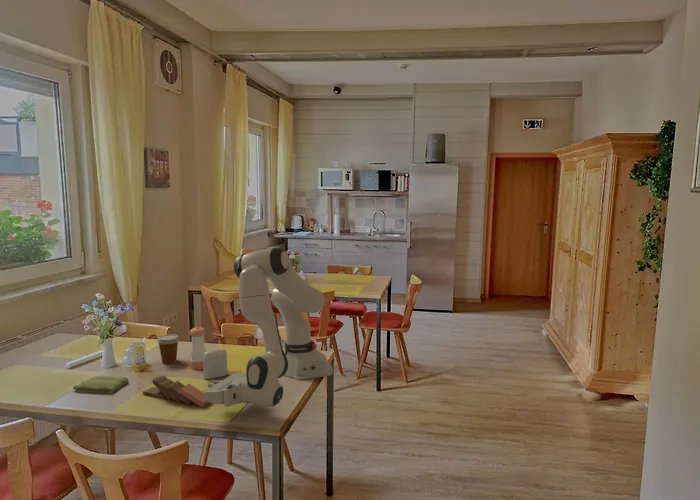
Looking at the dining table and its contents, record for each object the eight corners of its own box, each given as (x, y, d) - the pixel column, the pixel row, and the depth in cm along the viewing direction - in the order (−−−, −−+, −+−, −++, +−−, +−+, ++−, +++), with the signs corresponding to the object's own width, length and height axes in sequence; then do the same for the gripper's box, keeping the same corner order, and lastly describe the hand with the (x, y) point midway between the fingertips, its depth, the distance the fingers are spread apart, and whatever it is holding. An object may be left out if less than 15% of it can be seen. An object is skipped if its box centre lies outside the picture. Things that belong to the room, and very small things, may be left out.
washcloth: (92, 380, 212) (91, 373, 211) (130, 382, 209) (130, 375, 209) (71, 393, 199) (70, 385, 198) (111, 395, 197) (111, 388, 196)
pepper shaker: (187, 368, 225) (185, 327, 222) (197, 363, 232) (196, 323, 229) (200, 370, 222) (198, 329, 220) (210, 365, 229) (209, 325, 226)
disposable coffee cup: (167, 366, 227) (166, 341, 225) (154, 362, 232) (152, 338, 230) (184, 360, 235) (183, 336, 233) (171, 356, 240) (169, 332, 238)
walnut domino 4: (198, 395, 191) (177, 380, 194) (189, 400, 186) (168, 385, 190) (197, 399, 192) (176, 384, 195) (188, 405, 187) (167, 389, 190)
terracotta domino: (211, 397, 189) (189, 383, 192) (203, 403, 185) (180, 388, 187) (210, 402, 190) (187, 387, 193) (202, 407, 185) (179, 392, 188)
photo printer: (225, 372, 220) (224, 345, 218) (228, 375, 216) (228, 348, 215) (202, 377, 214) (201, 350, 213) (205, 380, 211) (204, 352, 209)
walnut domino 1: (173, 391, 197) (152, 386, 201) (163, 396, 192) (142, 391, 197) (173, 396, 197) (152, 391, 201) (164, 400, 193) (143, 396, 197)
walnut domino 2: (180, 391, 195) (164, 375, 201) (169, 394, 191) (153, 378, 196) (179, 395, 196) (163, 379, 201) (168, 398, 192) (152, 382, 197)
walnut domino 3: (189, 394, 193) (169, 379, 196) (180, 399, 188) (160, 383, 192) (188, 398, 194) (168, 383, 197) (179, 403, 189) (158, 387, 192)
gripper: (256, 371, 190) (226, 366, 195) (224, 391, 171) (192, 385, 176) (257, 387, 191) (227, 381, 196) (225, 409, 172) (192, 402, 177)
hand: (210, 383), depth 186 cm, fingers closed
